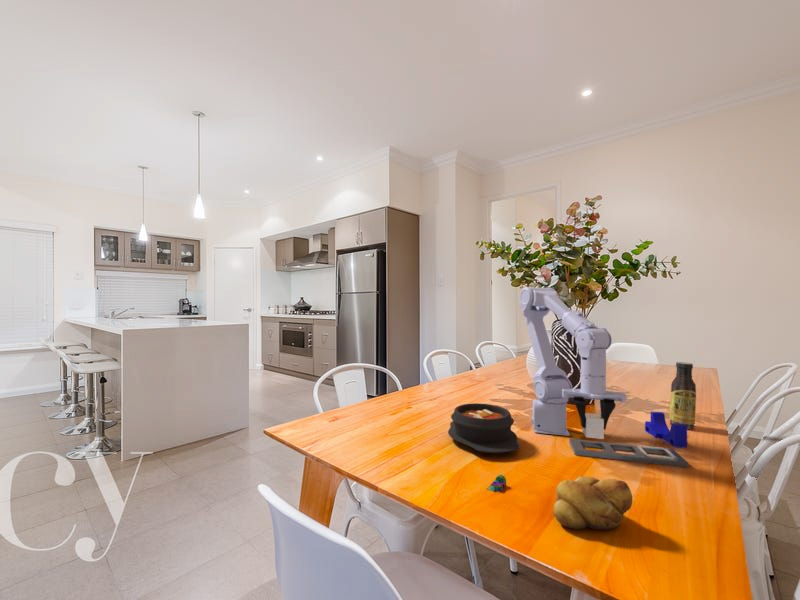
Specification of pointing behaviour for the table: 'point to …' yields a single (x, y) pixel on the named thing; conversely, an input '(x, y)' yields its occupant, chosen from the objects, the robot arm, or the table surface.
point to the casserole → (483, 428)
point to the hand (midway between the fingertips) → (593, 427)
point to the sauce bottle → (683, 396)
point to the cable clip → (667, 430)
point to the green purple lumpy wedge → (498, 484)
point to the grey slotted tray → (639, 451)
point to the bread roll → (592, 503)
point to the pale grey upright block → (594, 426)
